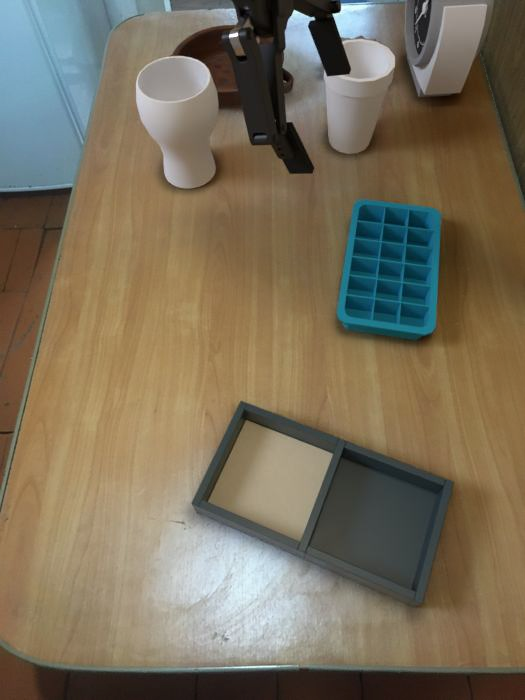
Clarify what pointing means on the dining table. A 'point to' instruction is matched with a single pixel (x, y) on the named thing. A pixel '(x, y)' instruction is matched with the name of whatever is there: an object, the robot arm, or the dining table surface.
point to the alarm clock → (444, 42)
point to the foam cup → (358, 95)
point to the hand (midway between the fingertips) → (321, 120)
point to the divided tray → (327, 502)
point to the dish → (220, 62)
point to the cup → (180, 116)
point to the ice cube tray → (391, 270)
